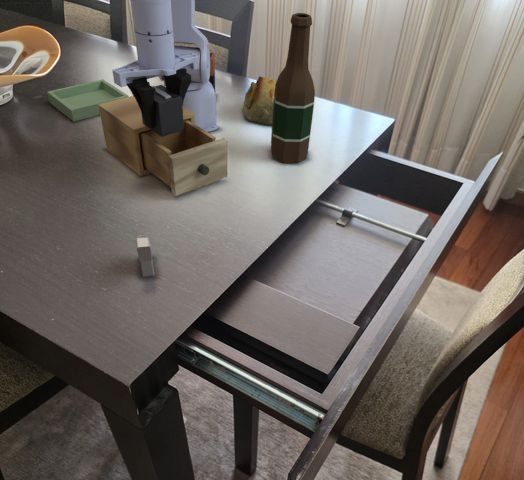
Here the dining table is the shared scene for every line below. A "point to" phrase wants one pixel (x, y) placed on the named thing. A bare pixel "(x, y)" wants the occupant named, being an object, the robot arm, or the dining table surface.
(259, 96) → the pastry
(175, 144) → the drawer
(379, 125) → the dining table surface
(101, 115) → the cabinet
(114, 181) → the dining table surface
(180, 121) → the black rectangular block
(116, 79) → the robot arm
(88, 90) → the tray
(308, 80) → the beer bottle
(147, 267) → the grey upright block
